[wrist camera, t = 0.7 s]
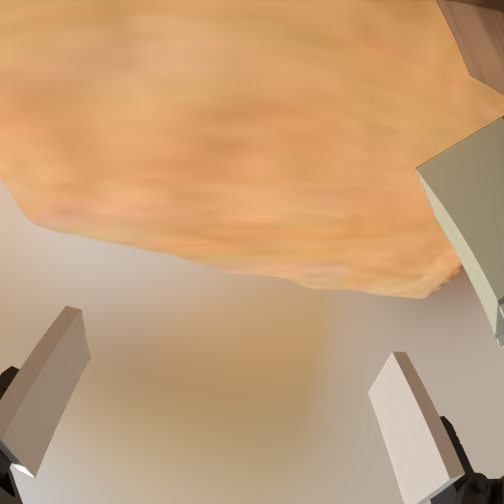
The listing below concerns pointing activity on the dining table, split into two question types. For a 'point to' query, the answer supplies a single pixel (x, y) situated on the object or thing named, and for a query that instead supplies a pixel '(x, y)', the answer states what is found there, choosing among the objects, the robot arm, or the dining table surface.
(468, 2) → the brown wooden block
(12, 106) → the dining table surface
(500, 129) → the grey-green storage box
